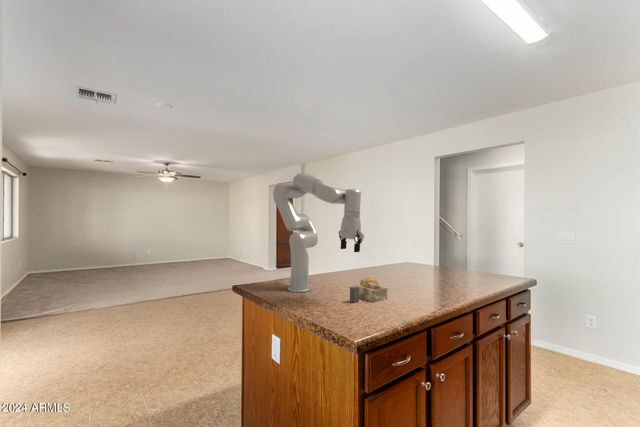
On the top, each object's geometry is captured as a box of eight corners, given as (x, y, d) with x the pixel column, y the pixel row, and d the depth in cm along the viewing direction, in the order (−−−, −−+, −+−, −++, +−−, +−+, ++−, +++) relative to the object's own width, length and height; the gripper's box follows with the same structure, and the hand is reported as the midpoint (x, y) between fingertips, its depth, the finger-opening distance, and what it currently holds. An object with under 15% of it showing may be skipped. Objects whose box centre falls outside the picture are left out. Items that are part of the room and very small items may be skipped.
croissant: (382, 301, 166) (389, 287, 166) (367, 293, 163) (374, 279, 164) (365, 290, 186) (372, 278, 187) (351, 283, 183) (358, 270, 184)
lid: (337, 302, 152) (337, 286, 152) (352, 298, 158) (353, 283, 158) (356, 309, 142) (356, 292, 142) (371, 305, 148) (372, 288, 148)
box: (356, 297, 159) (356, 285, 159) (368, 294, 164) (369, 283, 164) (374, 303, 149) (374, 290, 149) (387, 300, 155) (387, 288, 155)
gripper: (334, 213, 158) (332, 248, 159) (358, 216, 144) (356, 253, 145) (345, 213, 163) (344, 247, 163) (370, 216, 149) (368, 252, 149)
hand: (349, 250), depth 154 cm, fingers open, 9 cm apart
